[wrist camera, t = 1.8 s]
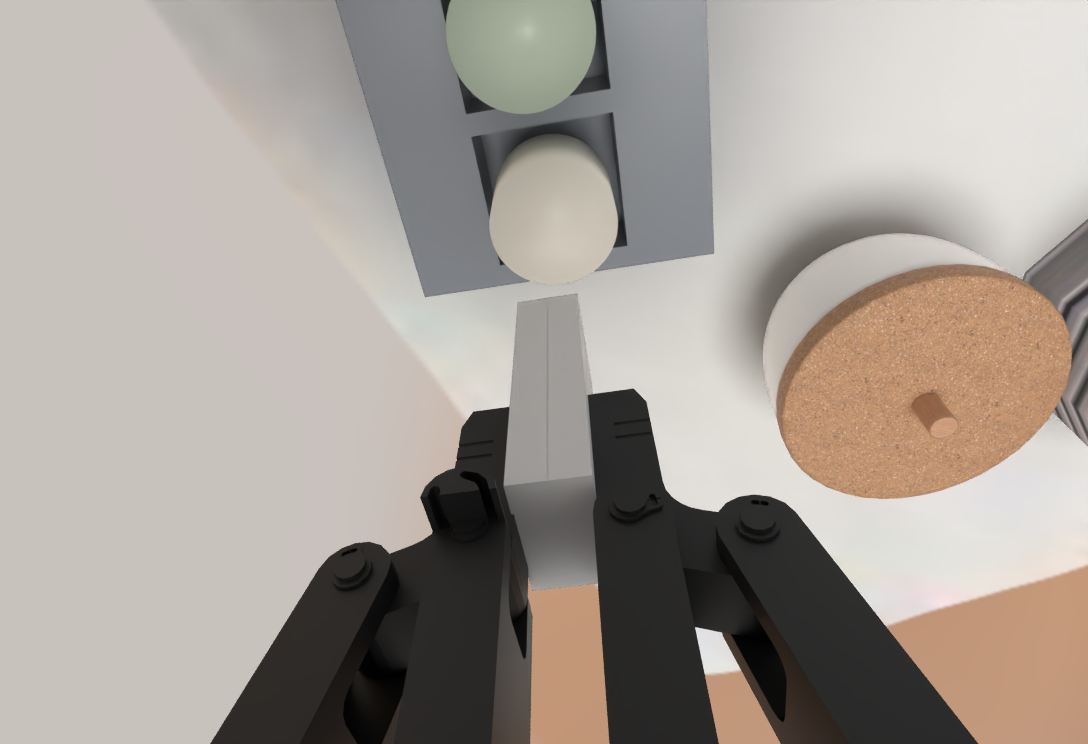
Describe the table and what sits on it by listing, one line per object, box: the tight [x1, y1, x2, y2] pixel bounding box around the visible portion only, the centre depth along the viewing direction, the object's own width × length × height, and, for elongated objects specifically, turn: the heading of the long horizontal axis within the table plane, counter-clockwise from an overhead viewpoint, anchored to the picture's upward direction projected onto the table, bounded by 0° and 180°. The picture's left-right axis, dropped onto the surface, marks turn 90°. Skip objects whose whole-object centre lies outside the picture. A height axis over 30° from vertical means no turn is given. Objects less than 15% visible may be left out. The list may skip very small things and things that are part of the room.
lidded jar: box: [763, 233, 1072, 499], centre depth 29 cm, size 11×11×9 cm
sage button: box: [446, 0, 596, 114], centre depth 21 cm, size 4×4×4 cm
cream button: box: [489, 134, 618, 285], centre depth 25 cm, size 4×4×4 cm
